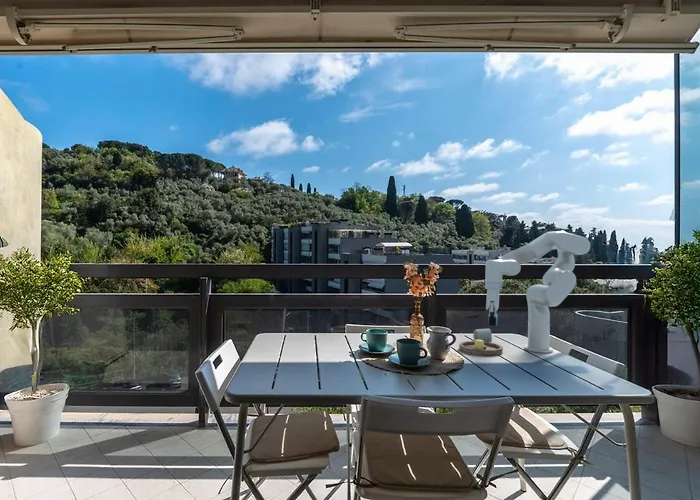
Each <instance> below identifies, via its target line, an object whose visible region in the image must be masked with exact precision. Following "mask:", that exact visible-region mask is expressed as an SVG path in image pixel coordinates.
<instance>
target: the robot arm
mask: <svg viewBox="0 0 700 500" xmlns="http://www.w3.org/2000/svg"><path fill="white" fill-rule="evenodd" d="M553 250H557V259H556V261H555V262H554V263H553V264H552V265H551V267H550V268H549V269H548V270H547V271H546V272H545V273H544V274H543V276H542V280H541V281H542V283H543V284H533V285H531V286H529V287H528V289H527V290H526V293H525V294H526V301H527V308H528V309H527V310H528V313H527V315H528V319H527V323H528V325H527V344H526V345H525V344H524V346H523V347H524V349H525V350H527V351H529V352H533V353H541V354H544V353H545V354H546V353H547V354H548V353H552V352H554V348H553V347H551V346H550V336H551V335H550V331H551V329H550V327H551V324H550V323H551V322H550V321H551V314H550V313H551V312H550V309H549V308H552V307H558V306H559V305H560V304H561V303H562V302H563V301H564V300H565V299H566V298H567V297H568V296H569V294H571V292H572V291H573V290H574V288H575V286H576V284H577V277H576V275H575V273H574V272H573V271H574V269H575V266H576V265H575V264H576V261H575V256H580V255H581V256H583V255H585V254H588V252H589V251H590V250H591V242H590V241H589V239H588V238H587V237H584V236H581V235H577V234H575V233H569V232H565V231H560V230H559V231H547V232H544V233H542V235H540V236H538V237H537V238H535V239H534V240H532V241H530V242H529V243H527V244H525V245H523V246H520V247H519V248H516V249H514V250H511V251H510V252H507V253H505V254H504V255H502V256H501V257H499V258H498V259H487V260H486V261H485V273H484V274H485V280H484V284H485V286H484V289H486V303H485V310H487V311H489V313H488V315H489V325H488V326H491V325H492V326H493V327H495V326H496V317H495V316H496V314H497V315H498V313H497V312H498V309H499V305H500V290H503V276H504V275H505V276H509V277H510V276H516V275H518V274H519V273H520V272H521V268H522V266H521V264H524V263H531V262H534V261H536V260H539V259H540V258H541V257H543V256H545V255H547V253H549V252H551V251H553ZM574 255H575V256H574ZM496 327H497V326H496Z"/></svg>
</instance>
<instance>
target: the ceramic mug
mask: <svg viewBox="0 0 700 500" xmlns="http://www.w3.org/2000/svg"><path fill="white" fill-rule="evenodd" d="M492 334H493V333H492V331H491V329H490V328H479V329H478V328H477V329H474V330H473V334H472V335H473V341H475V340H483V341H484V342H491V343H493V342H492V341H493V336H492Z"/></svg>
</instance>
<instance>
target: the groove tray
mask: <svg viewBox="0 0 700 500" xmlns="http://www.w3.org/2000/svg"><path fill="white" fill-rule="evenodd" d="M458 346H459V351H460V352H462V353H463V354H468V355H473V356H479V357H480V356H481V357H494V356H495V357H496V356H501V355H502V354H503V350H504V346H502V345H500V344H498V343H495V342H484V350H479V349H475V341H474V340H468V341H462V342H460V343H459V344H458Z"/></svg>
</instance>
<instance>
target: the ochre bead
mask: <svg viewBox="0 0 700 500" xmlns="http://www.w3.org/2000/svg"><path fill="white" fill-rule="evenodd" d="M475 349H479V350H484V341H483V340H475Z"/></svg>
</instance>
